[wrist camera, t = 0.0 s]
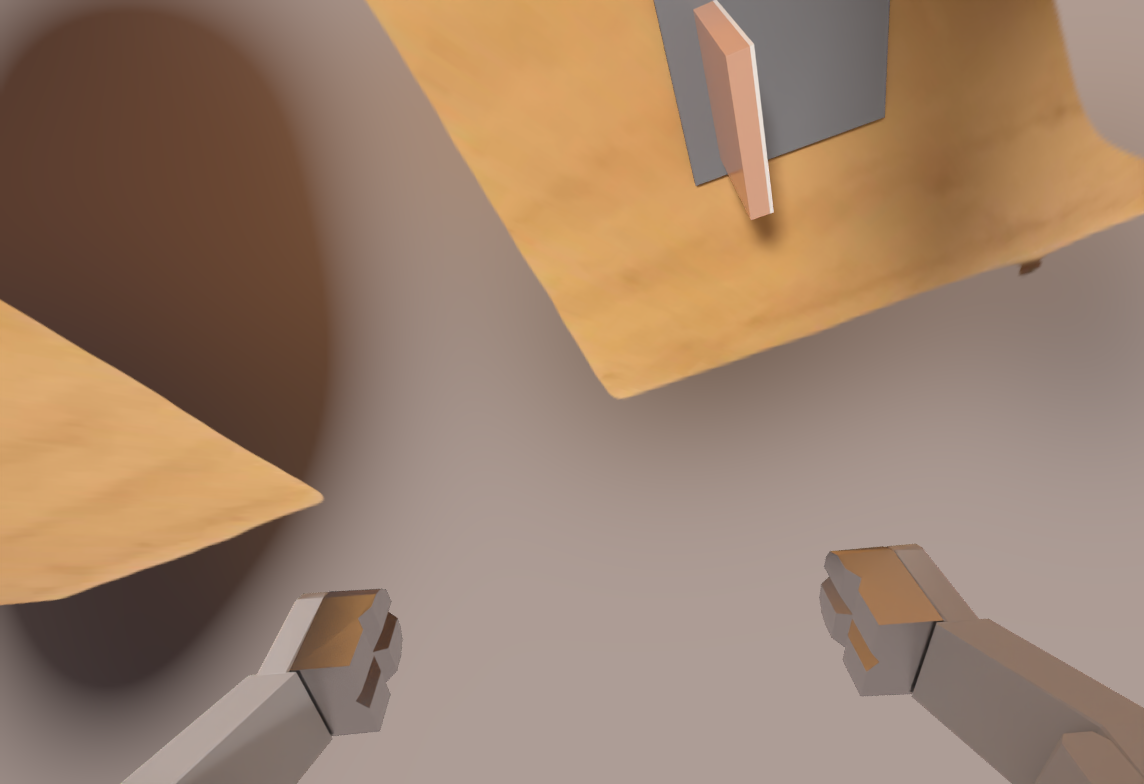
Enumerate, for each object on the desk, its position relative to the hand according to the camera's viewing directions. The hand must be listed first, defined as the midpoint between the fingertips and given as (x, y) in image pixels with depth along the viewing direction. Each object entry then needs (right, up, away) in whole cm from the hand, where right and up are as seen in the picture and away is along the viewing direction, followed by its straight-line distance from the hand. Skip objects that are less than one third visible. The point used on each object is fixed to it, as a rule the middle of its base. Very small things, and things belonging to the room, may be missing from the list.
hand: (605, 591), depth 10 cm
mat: (+18, +34, +41) cm, 56 cm away
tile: (+13, +32, +42) cm, 54 cm away
